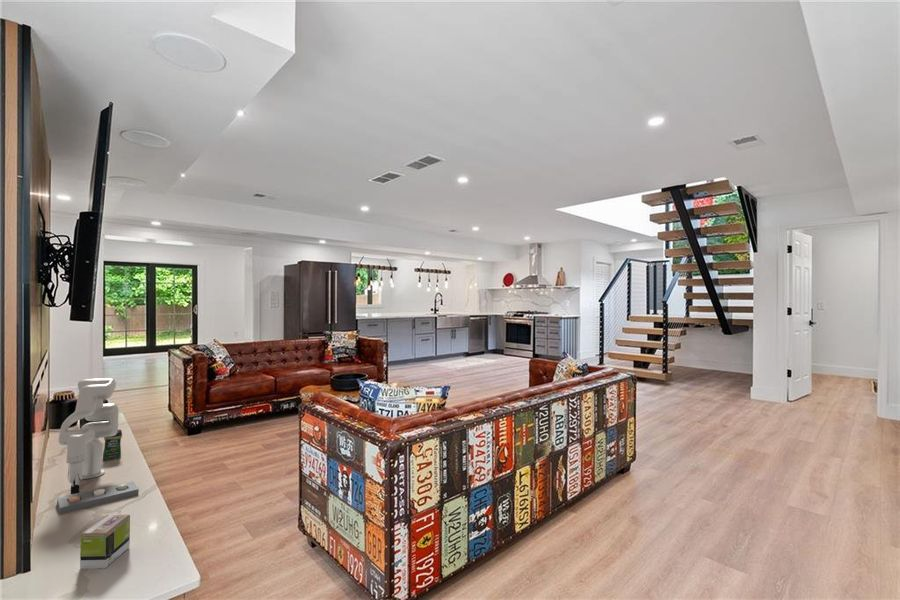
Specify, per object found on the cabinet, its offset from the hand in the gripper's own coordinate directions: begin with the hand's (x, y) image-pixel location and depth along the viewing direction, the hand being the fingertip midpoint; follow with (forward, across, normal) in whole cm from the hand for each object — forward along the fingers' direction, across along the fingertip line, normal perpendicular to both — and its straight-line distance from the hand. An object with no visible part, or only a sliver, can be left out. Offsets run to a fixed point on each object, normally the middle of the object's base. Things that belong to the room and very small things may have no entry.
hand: (74, 493), depth 221 cm
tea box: (+5, +67, +3) cm, 67 cm away
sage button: (+5, +1, +20) cm, 20 cm away
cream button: (+5, +1, +10) cm, 11 cm away
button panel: (+6, +1, +10) cm, 12 cm away
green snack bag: (+8, -65, +26) cm, 71 cm away
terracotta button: (+5, +1, 0) cm, 5 cm away
